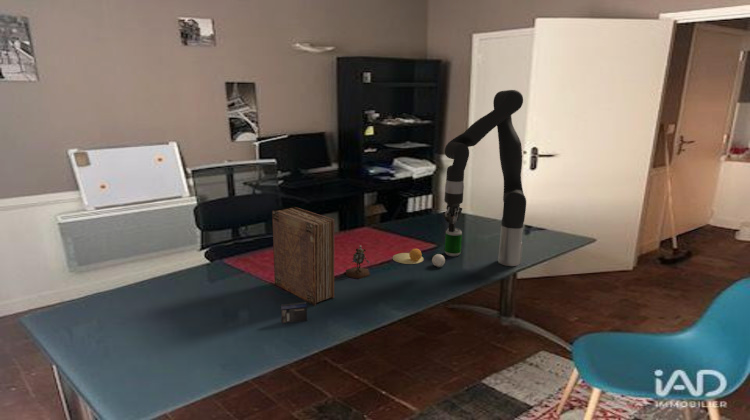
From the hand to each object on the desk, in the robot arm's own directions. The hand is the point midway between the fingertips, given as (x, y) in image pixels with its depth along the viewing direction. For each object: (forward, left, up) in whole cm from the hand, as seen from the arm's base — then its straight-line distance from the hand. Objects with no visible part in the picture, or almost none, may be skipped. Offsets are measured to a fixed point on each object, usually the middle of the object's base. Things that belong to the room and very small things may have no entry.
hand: (451, 231), depth 204 cm
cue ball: (+2, -5, -14) cm, 15 cm away
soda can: (-13, -15, -17) cm, 27 cm away
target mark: (+9, -19, -17) cm, 27 cm away
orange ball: (+7, -16, -14) cm, 22 cm away
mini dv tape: (+75, +16, -17) cm, 78 cm away
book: (+64, -5, -17) cm, 66 cm away
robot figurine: (+38, -12, -17) cm, 43 cm away
